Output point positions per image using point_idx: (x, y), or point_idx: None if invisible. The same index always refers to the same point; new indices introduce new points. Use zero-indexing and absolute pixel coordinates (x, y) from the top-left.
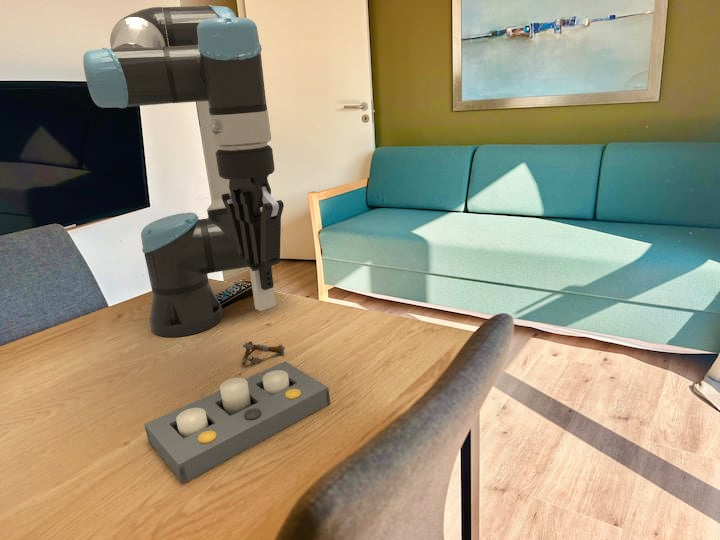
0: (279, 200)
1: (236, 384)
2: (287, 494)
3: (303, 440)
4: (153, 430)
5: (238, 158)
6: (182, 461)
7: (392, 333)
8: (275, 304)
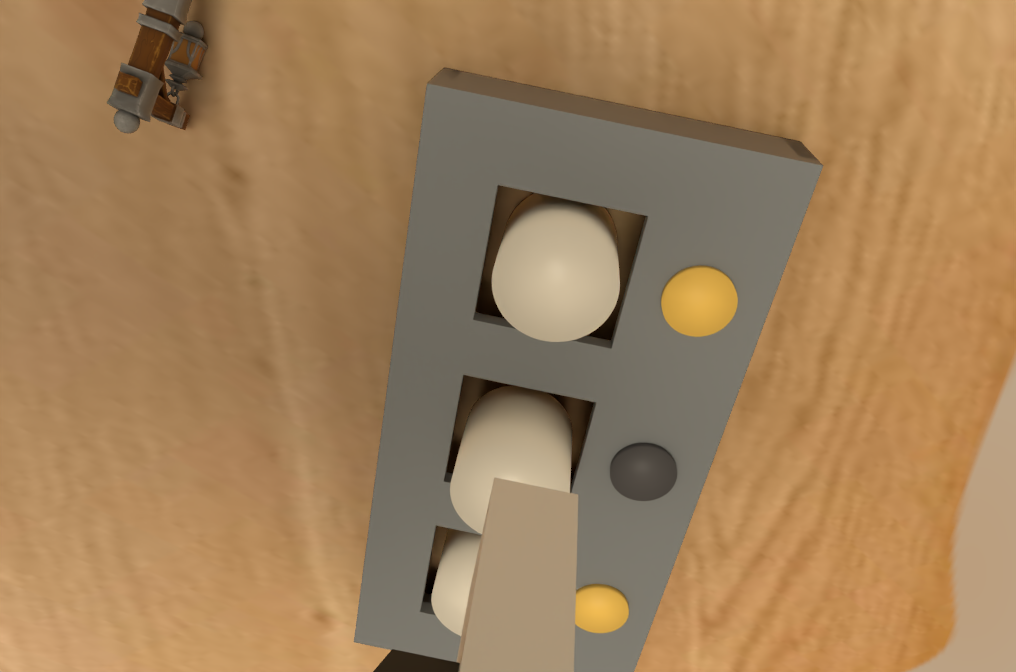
0: None
1: None
2: (932, 558)
3: (834, 375)
4: (411, 648)
5: None
6: None
7: None
8: (576, 503)
